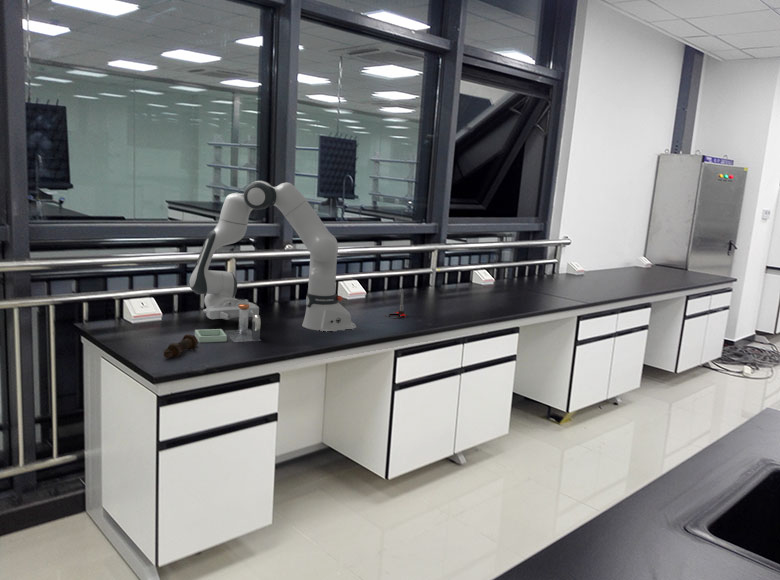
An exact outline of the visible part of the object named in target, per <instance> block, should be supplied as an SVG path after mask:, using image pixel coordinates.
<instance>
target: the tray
mask: <svg viewBox="0 0 780 580" xmlns="http://www.w3.org/2000/svg"><path fill="white" fill-rule="evenodd" d="M194 336H195V337H196V339H197V341H198V344H199V343H217V342H218V343H219V342H227V341H228V340H227V339H228V338H227V337H228V334H227V333H226V332H225V331H224V330H223V329H222V328H216V329H215V328H211V329H194Z"/></svg>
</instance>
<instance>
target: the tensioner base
mask: <svg viewBox="0 0 780 580" xmlns="http://www.w3.org/2000/svg"><path fill="white" fill-rule="evenodd" d="M251 318H252V320H251V323H252V325H251V329H250V328H248V333H247V334H239V333H238V332H239V329H228V330H225V329H224V330H223V332H224V333H225V334H226V335H227V337H229V338H230V340H232V342H233V343H238V342H240V343H242V342H259V341H260V342H261V341H262V340H261V338H260V337H261V326H262V325H261V324H262V323H261V316H260V315H259V314H258V315H253V317H251Z"/></svg>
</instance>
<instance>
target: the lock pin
mask: <svg viewBox="0 0 780 580" xmlns="http://www.w3.org/2000/svg"><path fill="white" fill-rule="evenodd" d="M249 306H250V305H249V304H239V317H238V330H239V332H238V333H239V334H247V333H248V329H249V328H248V327H249V317H248V311H249Z"/></svg>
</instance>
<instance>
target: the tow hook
mask: <svg viewBox="0 0 780 580" xmlns="http://www.w3.org/2000/svg"><path fill="white" fill-rule="evenodd" d="M395 313H397V314H401V315H400V316H408V315H407V314H406V313H405V311H404V289H403V288H402V289H401V293H400V305H399V310H398V311H396V312H395Z"/></svg>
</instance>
